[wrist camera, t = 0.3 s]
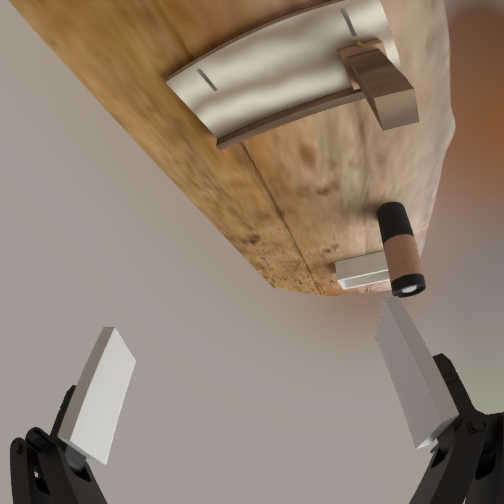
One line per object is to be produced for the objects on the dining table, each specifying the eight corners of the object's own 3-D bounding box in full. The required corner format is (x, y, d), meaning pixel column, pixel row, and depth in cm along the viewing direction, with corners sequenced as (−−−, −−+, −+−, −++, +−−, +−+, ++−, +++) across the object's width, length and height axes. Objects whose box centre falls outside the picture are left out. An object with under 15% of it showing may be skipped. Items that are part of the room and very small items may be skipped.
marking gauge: (334, 45, 27) (362, 88, 21) (377, 34, 24) (418, 75, 18) (351, 84, 32) (377, 137, 26) (390, 74, 29) (426, 125, 23)
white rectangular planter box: (334, 262, 84) (336, 280, 82) (395, 248, 76) (399, 266, 73) (341, 272, 92) (343, 289, 89) (396, 260, 83) (400, 277, 80)
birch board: (168, 76, 33) (162, 88, 31) (371, -9, 19) (382, -4, 18) (222, 135, 44) (220, 150, 42) (399, 74, 30) (409, 87, 28)
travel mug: (411, 208, 59) (432, 287, 49) (388, 223, 65) (404, 299, 55) (392, 197, 56) (414, 282, 46) (369, 213, 62) (385, 295, 52)
